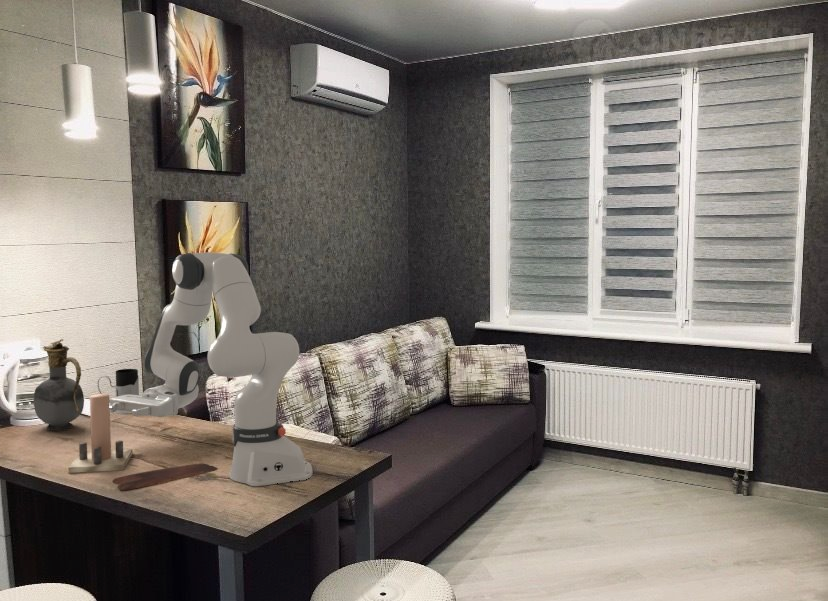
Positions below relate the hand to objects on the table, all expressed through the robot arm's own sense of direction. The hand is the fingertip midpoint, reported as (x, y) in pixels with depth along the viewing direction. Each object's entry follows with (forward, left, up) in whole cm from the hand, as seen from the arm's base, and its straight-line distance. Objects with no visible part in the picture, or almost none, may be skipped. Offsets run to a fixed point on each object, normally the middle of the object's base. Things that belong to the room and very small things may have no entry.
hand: (121, 411), depth 202 cm
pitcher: (+24, -32, -13) cm, 42 cm away
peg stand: (+4, +6, -13) cm, 15 cm away
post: (+4, +6, -12) cm, 14 cm away
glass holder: (+10, -51, -13) cm, 54 cm away
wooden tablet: (-15, +20, -14) cm, 29 cm away
